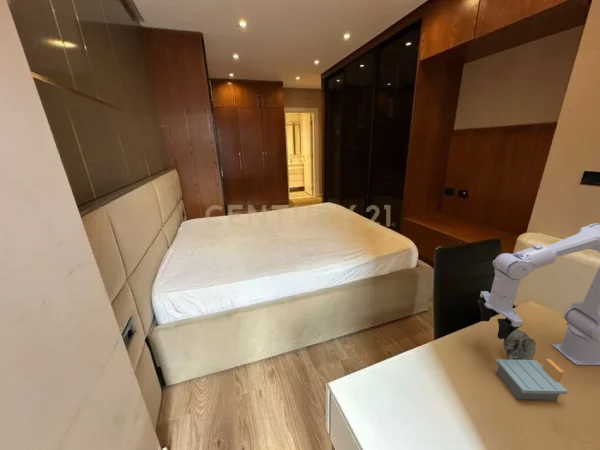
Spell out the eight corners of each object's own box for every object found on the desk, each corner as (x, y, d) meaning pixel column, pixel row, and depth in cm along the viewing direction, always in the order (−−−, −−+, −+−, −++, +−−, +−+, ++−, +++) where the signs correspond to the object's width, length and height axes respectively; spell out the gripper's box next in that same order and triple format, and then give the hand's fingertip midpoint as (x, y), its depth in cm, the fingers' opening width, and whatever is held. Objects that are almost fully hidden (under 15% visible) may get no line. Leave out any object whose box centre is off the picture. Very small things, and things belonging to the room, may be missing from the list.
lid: (537, 362, 72) (541, 351, 71) (569, 394, 63) (575, 381, 62) (496, 361, 73) (499, 350, 72) (522, 393, 64) (526, 380, 62)
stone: (540, 341, 72) (512, 318, 81) (508, 358, 74) (485, 333, 84) (553, 359, 74) (524, 334, 84) (522, 375, 77) (497, 349, 86)
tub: (530, 374, 73) (534, 364, 72) (556, 401, 65) (560, 390, 64) (496, 373, 73) (499, 363, 72) (517, 400, 66) (521, 389, 65)
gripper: (474, 279, 80) (466, 313, 84) (507, 308, 66) (496, 347, 70) (496, 279, 79) (487, 313, 84) (535, 308, 66) (521, 347, 70)
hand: (493, 329), depth 77 cm, fingers open, 7 cm apart
